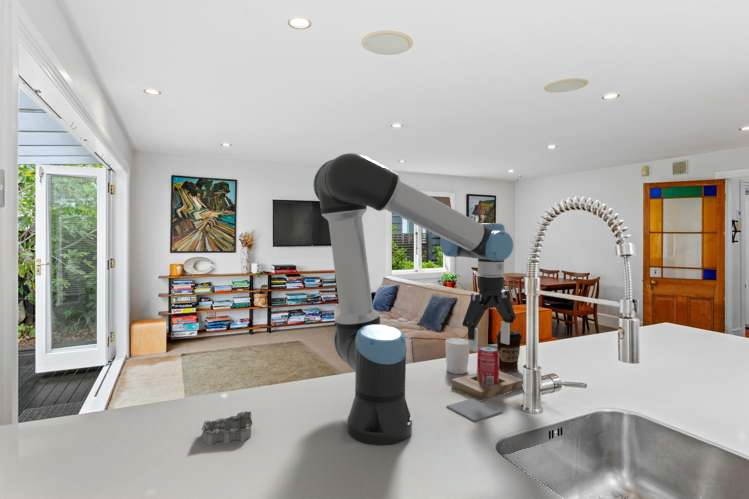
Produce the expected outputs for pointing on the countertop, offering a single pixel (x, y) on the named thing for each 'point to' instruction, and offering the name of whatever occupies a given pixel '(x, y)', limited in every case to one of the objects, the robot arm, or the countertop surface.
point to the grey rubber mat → (474, 409)
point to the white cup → (457, 355)
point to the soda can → (488, 365)
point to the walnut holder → (483, 391)
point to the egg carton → (227, 423)
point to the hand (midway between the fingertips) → (489, 346)
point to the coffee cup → (509, 351)
